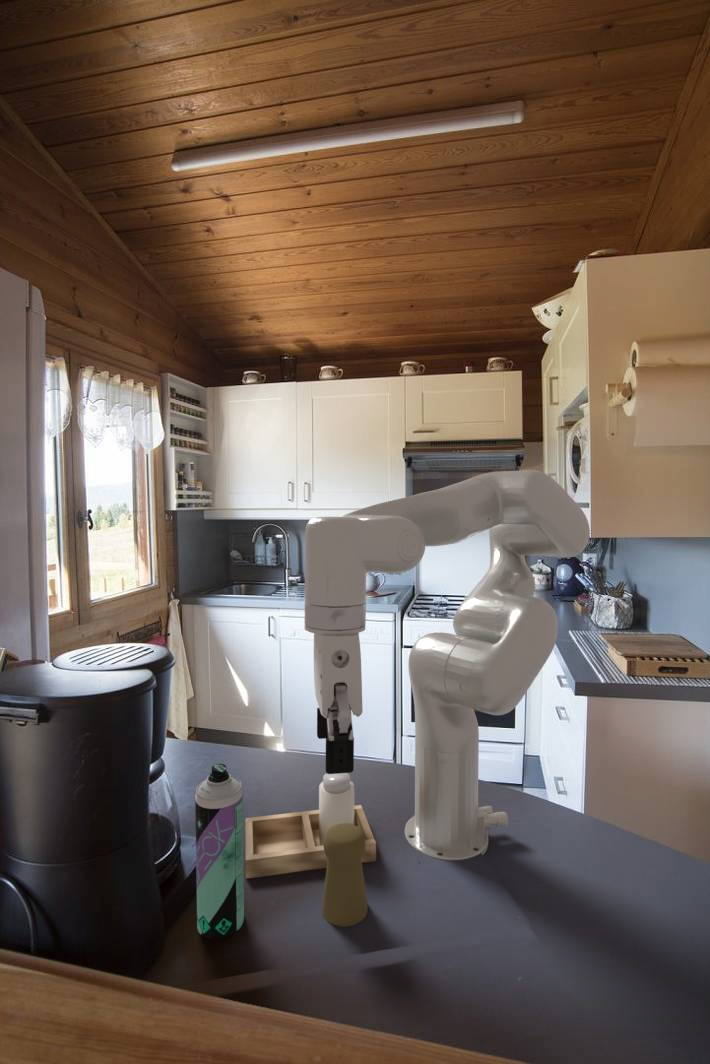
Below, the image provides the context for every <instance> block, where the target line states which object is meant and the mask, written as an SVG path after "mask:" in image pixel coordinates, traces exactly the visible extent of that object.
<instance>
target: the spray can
mask: <svg viewBox="0 0 710 1064" xmlns="http://www.w3.org/2000/svg"><path fill="white" fill-rule="evenodd" d="M242 785H243V784H242V781H241V780H240V779H239V778H237V777H236V776H235V777H234V776H232V775H231V773H229V772H228V771H227V766H226V764H223V763H217V764H214V765H212V766H211V773H210V774H209V775H208V776H207V777H206V779H205V780H202V781H201V782H200V783H199V784H198V785H197V786H196V788H195V795H194V797H195V799H194V800H195V801H194V806H195V807H194V808H195V809H194V810H195V811H194V812H195V860H196V861H195V865H196V867H195V869H196V871H195V872H196V874H195V875H196V918H197V919H196V925H197V926H196V928H197V932H198V933H199V935H200V936H202V937H203V938H205V939H209V940H222V939H225V938H226V939H227V938H228V937H231V936H233V935H234V934H235V933H237V932H238V931H239V930H240V929H241V927H242V925H243V924H244V920H245V898H244V897H245V890H244V889H245V887H244V886H245V884H244V882H245V881H244V876H245V875H244V814H243V813H244V808H243V806H244V804H243V803H244V802H243V801H244V800H243V796H244V795H243V788H242Z"/></svg>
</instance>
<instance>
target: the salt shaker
mask: <svg viewBox="0 0 710 1064" xmlns="http://www.w3.org/2000/svg"><path fill="white" fill-rule="evenodd" d="M354 806H355V783H354V782H353V781H351V775H350V773H339V774H327V773H326V772H325V774H324V775H323V776H322V782H320V784H319V786H318V810H319V845H320V846H323V843H324V838H325V834H326V833H327V831H328V830H329V829H330V828H331V827H332V826H334V825H337V824H341V823H348V824H353V825H354Z"/></svg>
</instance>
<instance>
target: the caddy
mask: <svg viewBox="0 0 710 1064" xmlns="http://www.w3.org/2000/svg"><path fill="white" fill-rule="evenodd" d="M354 825H355V826H357V827H359V828H360V829H361V831H362V832H363V834H364V837H365V851H364V854H363V856H362V858H361V860H362V864H364V863H371V862H376V861H377V841H376V839H375V837H374V835H373V832H372V829H371V826H370V824H369V822H368V819H367V817H366V813H365V811H364V809H363V806H362V805H361V804H359V805H358V804H357V805H355V804H354ZM327 862H328V858H327V857H326V855H325V851H324V846H320V845H319V809H314V810H307V811H295V812H288V813H279V814H271V815H259V816H254V817H245V879H253V878H254V879H255V878H261V877H266V876H267V877H268V876H275V875H282V874H290V873H298V872H304V871H311V870H320V869H325V868H326V869H327Z"/></svg>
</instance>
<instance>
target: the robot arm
mask: <svg viewBox="0 0 710 1064" xmlns="http://www.w3.org/2000/svg"><path fill="white" fill-rule="evenodd" d="M486 530H489V531H488V536H489V555H490V559H489V568H488V570H487V572H485V574H484V575H483V577H482V578H481V579H480V580H479V581H478V583H477V584H476V585H475V586H474V588H472V590H471V591H470V593H469V594H468V595H467V596H466V597H465V598H464V599H463V601H462V602H461V604H460V605H459V607H458V608H457V609H456V611H455V614H454V616H453V619H452V620H453V622H452V626H453V631H454V633H455V634H454V633H453V634H452V633H447V632H432V633H427V634H424V635H423V636H421V637H419V638H418V639H417V640H416V641H415V642H414V644H413V646H412V648H411V650H410V652H409V656H408V677H409V681H410V687H411V690H412V697H413V705H414V721H415V722H414V742H415V744H414V815H412V816H411V817H410V818H409V820H408V821H407V822H406V824H405V826H404V836H405V839H406V840H407V842H408V844H409V845H410V846H411V847H413V848H414V849H415V850H416V851H418V852H420V853H421V854H423V855H425V856H428V857H431V858H433V859H438V860H444V861H462V860H467V859H468V860H469V859H471V858H474V857H476V856H479V855H480V854H481V855H482V856H484V855H485V853H486V852H487V850H488V849H489V834H488V831H490V829H491V827H492V828H493V827H496V828H497V827H504V826H509V822H510V821H509V816H508V814H507V813H506V811H498V812H494V810H493V807H492V806H491V805H485V806H484V805H483V806H479V758H480V757H479V754H480V752H479V749H480V748H479V746H480V733H479V731H480V730H479V723H478V719H477V716H476V713H475V710H476V711H479V712H481V713H485V714H489V715H492V716H503V715H505V714H506V715H507V714H508V713H510V712H511V711H513V710H514V709H515V708H516V707H517V706H518V705H519V703H520V702H521V701H522V700H523V698H524V696H525V695H526V693H527V692H528V690H530V687H531V686H532V684H533V683H534V681H535V680H536V678H537V676H538V675H539V673H540V672H541V670H542V668H544V666H545V664H546V663H547V661H548V659H549V657H550V656H551V654H552V653H553V651H554V647H555V644H556V641H557V639H558V632H559V622H558V621H559V620H558V616H557V614H556V611H555V609H554V608H553V606H552V605H551V604H550V603H549V602H548V601H546V600H545V599H543V598H540V597H537V596H534V595H535V592H536V582H535V578H534V577H535V576H534V575H533V573H532V571H531V569H530V567H529V566H528V564H527V561H526V557H525V556H534V557H535V556H536V557H538V556H539V557H550V558H551V557H552V558H573V557H577V556H578V555H580V554H581V553H582V552H583V551H584V550H585V549H586V548H587V546H588V543H589V541H590V540H589V539H590V534H591V533H590V531H591V530H590V525H589V520H588V519H587V516H586V514H585V512H584V511H583V509H582V507H580V505H579V504H578V503H577V502H576V501H575V500H574V499H573V497H571V496H570V495H569V493H568V492H567V491H566V490H565V489H564V487H562V485H560V483H558V482H557V481H556V480H555V479H554V478H552V476H550V475H548V474H546V473H545V472H543V471H541V470H537V469H526V470H503V471H493V472H486V473H482V474H479V475H475V476H473V477H471V478H467V479H464V480H462V481H460V482H456V483H453V484H450V485H447V486H444V487H441V488H437V489H434V490H430V491H425V492H420V493H416V494H413V495H409V496H405V497H401V498H396V499H393V500H388V501H384V502H380V503H377V504H376V503H375V504H373V505H370V506H367V507H364V508H360V509H357V510H355V511H351V512H348V513H346V514H344V515H342V516H316V517H313V518H311V519H309V521H308V522H307V523H306V526H305V532H304V533H305V534H304V630H305V631H307V632H309V633H310V634H313V679H314V682H313V683H314V691H315V692H314V693H315V698H316V703H317V705H318V707H317V709H316V736H317V738H318V739H321V740H322V739H324V740H325V774H326V773H327V774H339V773H348V774H350V773H353V772H354V766H355V765H354V761H355V759H354V758H355V755H354V753H355V749H354V748H355V746H354V745H355V738H354V731H353V730H354V729H353V719H352V715H353V716H356V717H359V718H360V717H361V716H362V714H363V685H362V683H363V682H362V679H363V678H362V675H363V674H362V655H361V654H362V652H361V643H360V633H363V632H364V631H366V618H367V617H366V614H367V613H366V612H367V609H366V607H367V574H369V573H382V574H390V575H396V574H403V573H407V572H409V571H411V570H412V569H414V568H415V567H417V565H418V564H419V563H420V562H421V560H422V559H423V557H424V554H425V550H426V547H439V546H446V545H447V546H448V545H454V544H458V543H461V542H463V541H465V540H467V539H469V538H471V537H474V536H476V535H478V534H480V533H482V532H484V531H486ZM475 849H476V850H475ZM438 854H439V855H438ZM440 854H441V855H440Z"/></svg>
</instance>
